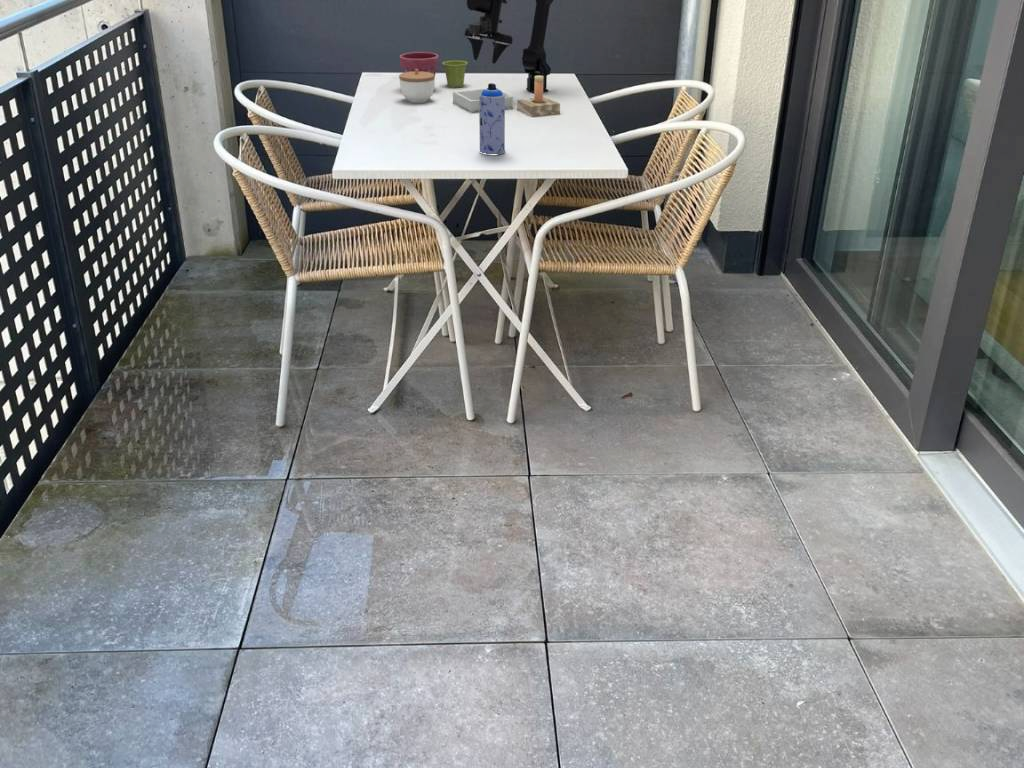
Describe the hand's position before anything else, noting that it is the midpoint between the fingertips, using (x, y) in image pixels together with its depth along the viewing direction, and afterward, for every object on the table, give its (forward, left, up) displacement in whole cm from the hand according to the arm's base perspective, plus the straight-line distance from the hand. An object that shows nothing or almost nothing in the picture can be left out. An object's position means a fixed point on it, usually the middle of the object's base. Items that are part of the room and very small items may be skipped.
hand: (484, 61), depth 356 cm
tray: (+3, +5, -14) cm, 15 cm away
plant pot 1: (+14, -28, -14) cm, 34 cm away
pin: (-11, +21, -14) cm, 28 cm away
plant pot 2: (-1, -30, -14) cm, 33 cm away
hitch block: (-11, +21, -14) cm, 28 cm away
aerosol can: (+25, +62, -14) cm, 69 cm away
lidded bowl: (+21, -12, -14) cm, 28 cm away
